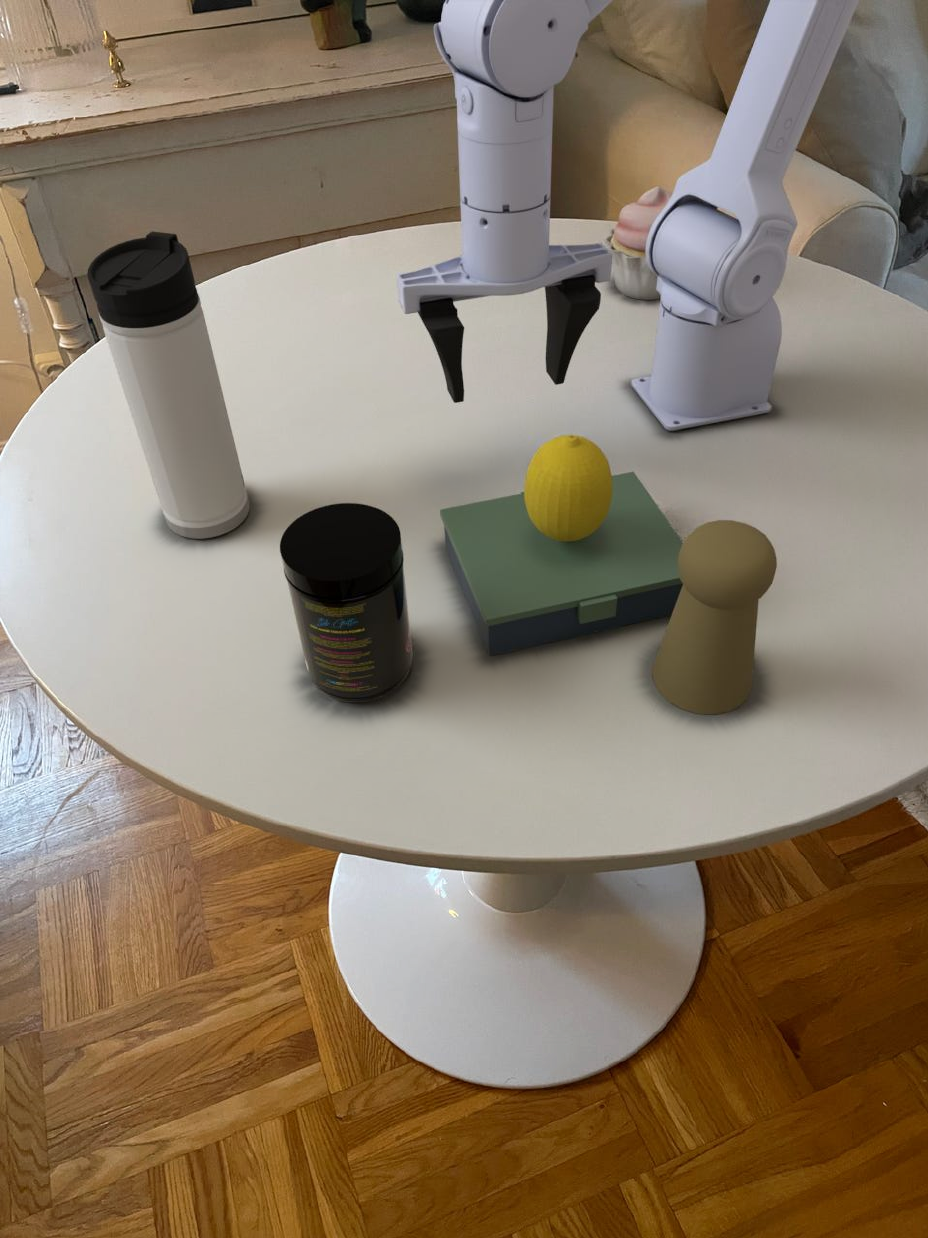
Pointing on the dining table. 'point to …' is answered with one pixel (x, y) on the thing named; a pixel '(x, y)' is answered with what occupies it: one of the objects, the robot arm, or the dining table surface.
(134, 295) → the travel mug
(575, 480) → the lemon
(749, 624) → the brown pawn
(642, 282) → the cupcake
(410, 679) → the dining table surface
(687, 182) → the robot arm
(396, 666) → the supplement container
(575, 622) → the lunchbox
